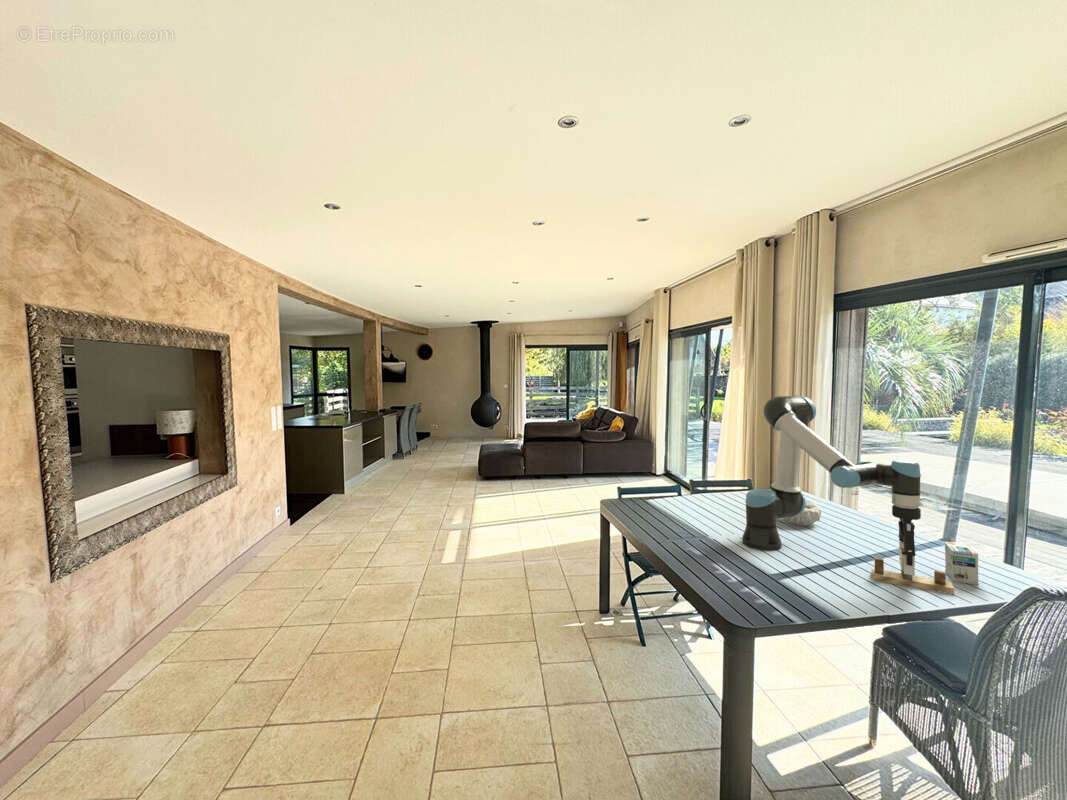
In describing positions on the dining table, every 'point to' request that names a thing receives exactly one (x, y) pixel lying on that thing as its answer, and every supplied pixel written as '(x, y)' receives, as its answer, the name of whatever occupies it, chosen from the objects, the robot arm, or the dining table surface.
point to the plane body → (912, 578)
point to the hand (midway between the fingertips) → (906, 567)
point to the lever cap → (902, 558)
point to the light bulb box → (961, 563)
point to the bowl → (806, 515)
